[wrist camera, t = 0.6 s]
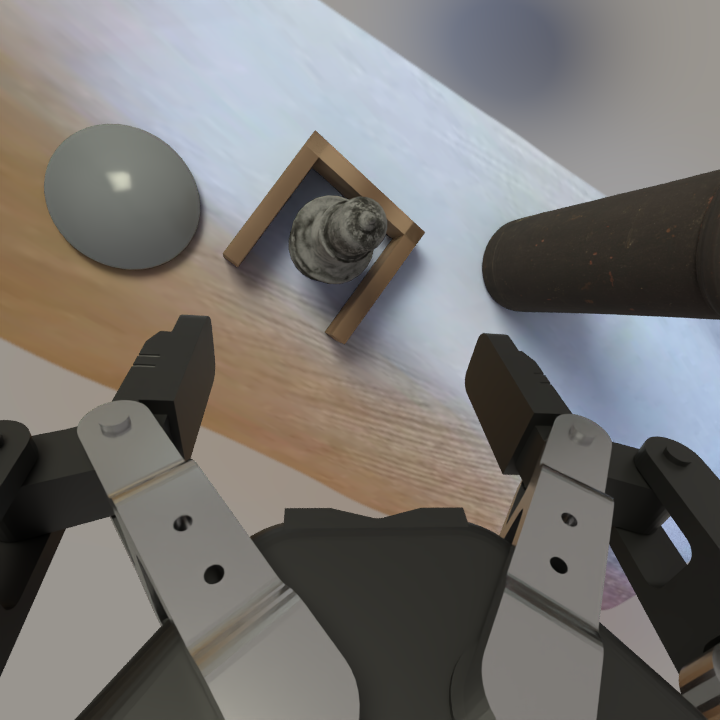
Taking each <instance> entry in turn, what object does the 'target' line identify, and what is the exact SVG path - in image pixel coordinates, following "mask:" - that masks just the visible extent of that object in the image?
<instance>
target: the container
mask: <svg viewBox="0 0 720 720" xmlns="http://www.w3.org/2000/svg"><path fill="white" fill-rule="evenodd" d="M482 271H483V278H484V282H485V285H486V288H487V290H488V292H489V293H490V295H491V296H492V298H493V299H494V300H495V301H496V302H497V303H499V304H500V305H501V306H503V307H505V308H507V309H510V310H513V311H522V312H556V313H589V314H617V315H637V316H661V317H681V318H698V319H719V320H720V170H716V171H712V172H708V173H704V174H700V175H696V176H693V177H688V178H685V179H680V180H676V181H672V182H669V183H665V184H660V185H657V186H652V187H648V188H643V189H639V190H636V191H631V192H627V193H622V194H618V195H614V196H610V197H606V198H602V199H598V200H594V201H590V202H586V203H582V204H577V205H573V206H569V207H565V208H561V209H557V210H553V211H548V212H543V213H540V214H536V215H532V216H528V217H524V218H521V219H518V220H514V221H511V222H509V223H507V224H505V225H503V226H502V227H501V228H500V229H498V230H497V231H496V233H495V234H494V235H493V236H492V238H491V239H490V241H489V243H488V245H487V247H486V250H485V253H484V257H483V264H482Z"/></svg>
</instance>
